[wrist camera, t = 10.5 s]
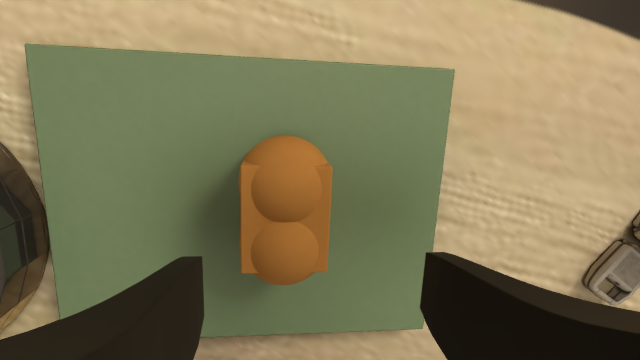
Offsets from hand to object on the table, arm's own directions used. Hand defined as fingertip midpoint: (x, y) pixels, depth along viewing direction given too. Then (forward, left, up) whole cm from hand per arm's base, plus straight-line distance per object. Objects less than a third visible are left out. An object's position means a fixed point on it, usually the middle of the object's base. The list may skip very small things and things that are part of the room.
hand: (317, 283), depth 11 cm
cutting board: (0, +2, -9) cm, 9 cm away
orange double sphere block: (+1, +1, -8) cm, 8 cm away
